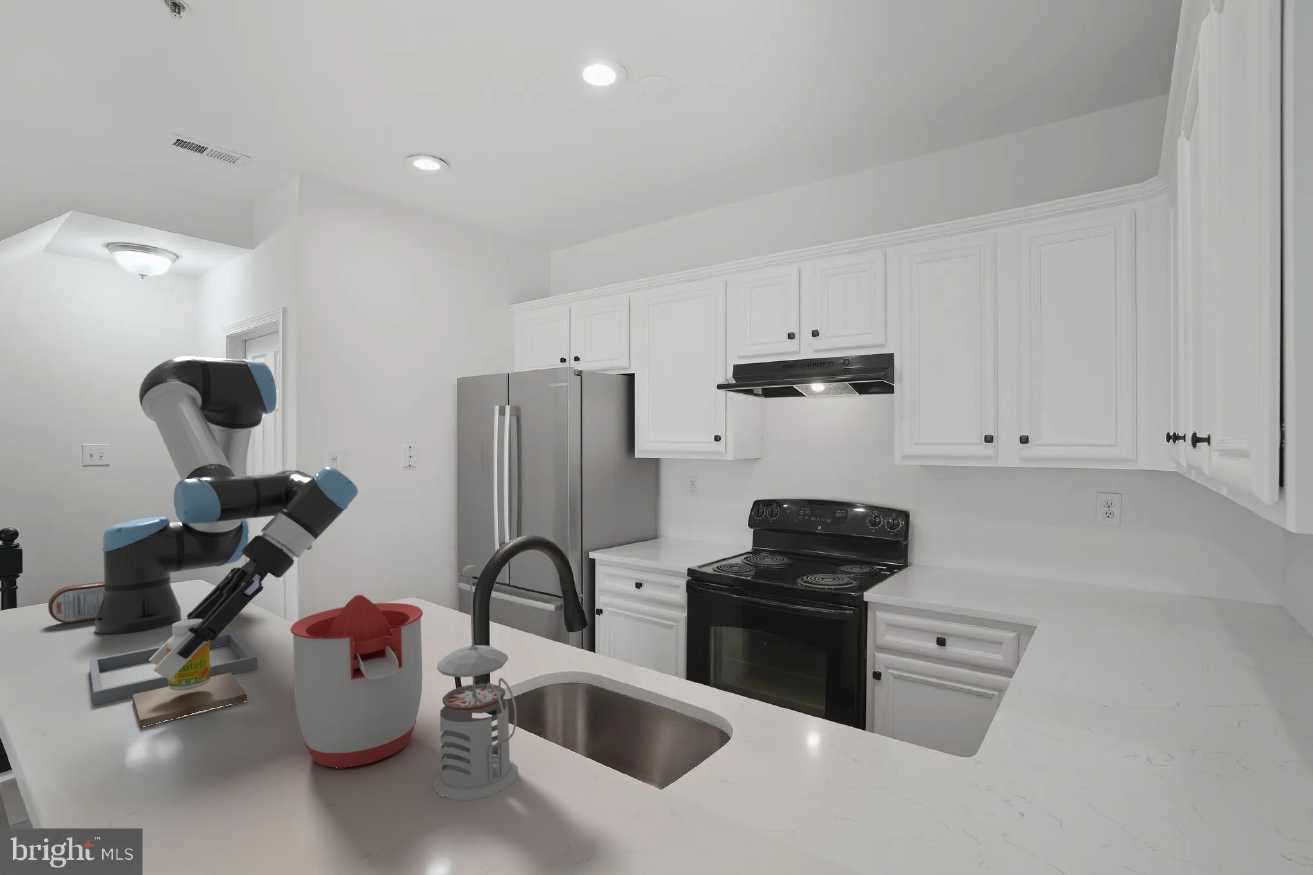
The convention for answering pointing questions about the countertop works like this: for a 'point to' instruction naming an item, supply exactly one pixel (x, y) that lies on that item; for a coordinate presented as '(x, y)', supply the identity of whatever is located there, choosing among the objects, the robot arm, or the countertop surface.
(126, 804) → the countertop surface
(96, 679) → the tray frame
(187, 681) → the supplement bottle
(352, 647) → the citrus juicer
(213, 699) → the walnut board
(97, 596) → the tin
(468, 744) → the french press
